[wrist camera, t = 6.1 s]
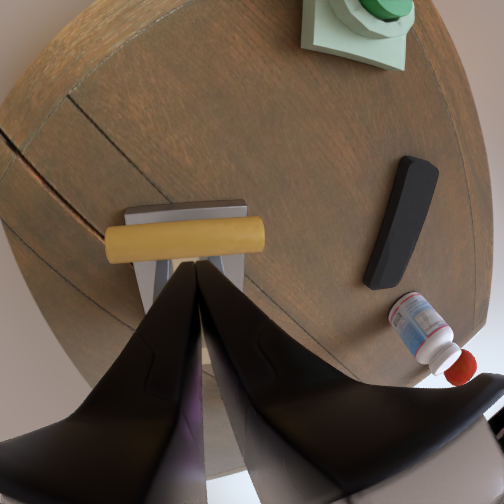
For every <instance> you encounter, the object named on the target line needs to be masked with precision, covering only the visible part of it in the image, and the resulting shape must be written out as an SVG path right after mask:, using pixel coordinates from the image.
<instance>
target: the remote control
mask: <svg viewBox="0 0 504 504" xmlns="http://www.w3.org/2000/svg"><path fill="white" fill-rule="evenodd" d="M438 176H439V171H438V169H437V168H436V167H435V166H434V165H432V164H431V163H430V162H428V161H425V160H422V159H418V158H415V157H411V156H405V157H404V158H403V159H402V160H401V162H400V166H399V170H398V174H397V177H396V181H395V185H394V189H393V192H392V196H391V199H390V203H389V206H388V209H387V213H386V216H385V219H384V222H383V226H382V229H381V232H380V235H379V238H378V241H377V244H376V247H375V249H374V252H373V255H372V258H371V261H370V263H369V266H368V269H367V271H366V274H365V277H364V280H363V283H364V284H365V285H366V286H367V287H369V288H370V289H372V290H378V289H385V288H392V287H395V286H396V285H398V284H399V282H400V281H401V278H402V276H403V274H404V272H405V269H406V267H407V265H408V262H409V260H410V258H411V255H412V253H413V250H414V248H415V245H416V242H417V240H418V237H419V235H420V232H421V229H422V226H423V224H424V221H425V218H426V215H427V212H428V209H429V206H430V203H431V200H432V197H433V193H434V190H435V187H436V183H437V180H438Z"/></svg>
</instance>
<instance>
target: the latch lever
mask: <svg viewBox="0 0 504 504" xmlns="http://www.w3.org/2000/svg"><path fill="white" fill-rule="evenodd" d="M264 244H265V232H264V225H263V222H262V219H261V217H259V216H250V217H231V218H214V219H198V220H184V221H170V222H158V223H146V224H134V225H123V226H113V227H108V228H107V230H106V233H105V251H106V256H107V259H108V261H109V262H110V263H111V264H118V263H131V262H144V261H157V260H170V259H171V260H172V266H173V272H175V270H176V269H177V267H178V266H179V264H180V263H181V262H185V261H194V262H196V261H197V260H200V259H199V257H209V256H221V255H234V254H247V253H260V252H262V251H263V249H264ZM195 268H196V267H195ZM200 318H201V317H200ZM201 327H202V325H201ZM210 363H211V360H210V357H209V353H208V350H207V346H206V343H205V339H204V335H203V331H202V364H210Z"/></svg>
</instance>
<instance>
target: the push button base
mask: <svg viewBox="0 0 504 504" xmlns="http://www.w3.org/2000/svg"><path fill="white" fill-rule="evenodd" d="M413 23H414V3H413V1H412V9H411V12H410V13H409V14H408V15H406V16H403V17H396V18H390V19H382V18H378V17H376V16H374V15H372V14H371V13H369V12H368V11H367V10H366V9H365V8H364V7H363V6H362V4H361V3H360V1H359V0H303V13H302V32H301V48H302V49H308V50H313V51H318V52H323V53H328V54H332V55H336V56H341V57H345V58H348V59H352V60H356V61H359V62H363V63H366V64H370V65H373V66H376V67H379V68H382V69H385V70H393V71H404V66H405V49H406V34H407V32H408V31H409V29H410V28H411V26H412V25H413Z"/></svg>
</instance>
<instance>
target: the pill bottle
mask: <svg viewBox="0 0 504 504" xmlns="http://www.w3.org/2000/svg"><path fill="white" fill-rule="evenodd" d="M389 322H390V324H391V325H392V327H393V328H394V329H395V331H396V332H397V333H398V335H399V336H400V337H401V339H402V340H403V341H404V343H405V344H406V346H407V347H408V348H409V350H410V351H411V353H412V354H413V356H414V357H415V358H416V360H417V361H418V362H419V363H421V364H429V368H430V371H431V372H432V373H433V375H434V376H437V375H439V374H441V373H443V372H444V371H446V370H447V369H448V368H449V367H450V366H451V365H452V364H453V363H454V362H455V361H456V360H457V359H458V358H459V356H460V354H461V349H460V348H459V347H458V345H457V344H456V343H452V340H453V331H452V330H451V328H450V327H449V326H448V325H447V323H446V322H445V321H444V320H443V319H442V318H441V316H440V315H439V314H438V313H437V312H436V311H435V310H434V309H433V307H432V306H431V305H430V304H429V303H428V302H427V301H426V300H425V299H424V297H423V296H422V295H421V294H419V293H417V292H411V293H408V294H406V295H405V296H403V297H402V298H401V299H399V300H398V301H397V302H396V304H395V305H394V306H393V308H392V309H391V311H390V313H389Z"/></svg>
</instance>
